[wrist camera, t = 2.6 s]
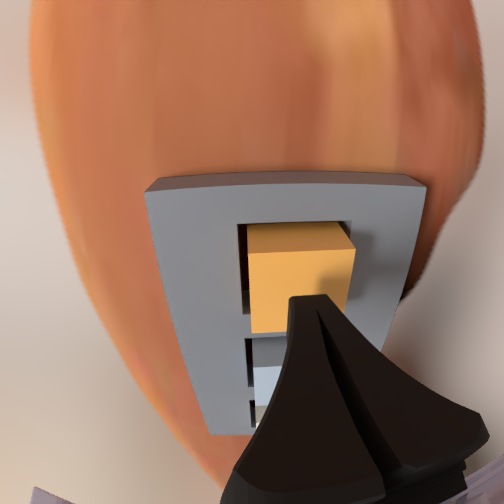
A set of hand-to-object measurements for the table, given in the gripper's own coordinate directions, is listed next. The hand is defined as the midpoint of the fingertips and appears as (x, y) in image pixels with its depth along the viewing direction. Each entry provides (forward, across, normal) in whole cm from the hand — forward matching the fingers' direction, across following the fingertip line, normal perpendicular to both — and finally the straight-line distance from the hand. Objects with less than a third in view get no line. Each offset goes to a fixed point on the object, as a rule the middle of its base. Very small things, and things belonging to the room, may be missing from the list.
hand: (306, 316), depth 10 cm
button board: (+5, 0, +7) cm, 8 cm away
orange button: (+4, 0, 0) cm, 4 cm away
